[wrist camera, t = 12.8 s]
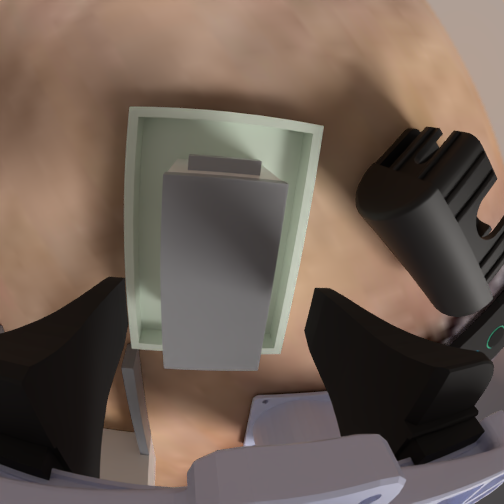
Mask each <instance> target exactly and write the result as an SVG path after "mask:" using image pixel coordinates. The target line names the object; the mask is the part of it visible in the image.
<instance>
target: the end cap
mask: <svg viewBox="0 0 504 504" xmlns="http://www.w3.org/2000/svg"><path fill="white" fill-rule="evenodd" d="M442 134H443V133H442V132H441V130H440V128H433V127H425V128H424V130H423V131H422V132H420V131H419V130H417V129H410V128H409V129H407V130H406V131H405V132H404V133H403V134H402V135H401V136H400V137H399V138H398V139H397V140H396V141H395V143H394V144H393V145H392V146H391V147H390V148H389V149H388V150H387V151H386V152H385V153H384V154H383V156H382V157H381V158H380V159H379V160H378V161H377V162H376V163H373V164H372V166H371V167H370V168H369V169H368V170H367V172H366V173H365V175H364V176H363V178H362V180H361V182H360V184H359V186H358V189H357V192H356V207H357V209H358V211H359V213H360V215H361V216H362V217H363V218H364V219H365V220H366V221H367V223H368V224H369V225H370V226H371V227H372V228H373V230H374V231H375V232H376V233H377V234H378V235H379V237H380V238H381V239H382V240H383V241H384V243H385V244H386V245H387V246H388V247H389V249H390V250H391V251H392V252H393V254H394V255H395V256H396V257H397V258H398V260H399V261H400V262H401V263H402V265H403V266H404V267H405V269H406V270H407V271H408V272H409V274H410V275H411V276H412V277H413V279H414V280H415V281H416V283H417V284H418V285H419V287H420V288H421V289H422V291H423V292H424V293H425V295H426V296H427V297H428V299H429V300H430V301H431V303H432V304H433V305H434V307H435V308H436V309H437V310H439V311H440V312H441V313H443V314H446V315H448V316H454V317H461V316H467V315H471V314H474V313H476V312H478V311H480V310H481V309H483V308H484V307H485V306H487V305H488V304H489V303H490V302H491V301H492V300H493V296H492V294H491V291H490V289H489V286H488V284H489V282H490V281H491V280H492V279H493V277H494V276H495V275H496V274H497V272H498V271H499V270H500V268H501V267H502V266H503V264H504V216H503V217H502V219H501V220H500V222H499V223H498V224H497V226H496V227H495V228H494V230H493V231H492V232H491V230H492V229H491V227H490V226H489V225H487V224H485V223H483V222H481V221H480V220H479V219H478V218H477V212H478V208H479V205H480V203H481V201H482V200H483V198H484V197H485V195H486V194H487V193H488V191H489V190H490V189H491V187H492V186H493V184H494V183H495V182H496V180H497V177H496V175H495V173H494V170H493V168H492V166H491V164H490V161H489V159H488V157H487V155H486V153H485V151H484V149H483V147H482V145H481V143H480V141H479V140H478V139H477V138H476V137H475V136H473V135H472V134H470V133H466V132H460V131H453V132H452V134H451V135H450V136H449V137H448V138H447V140H446V141H445V142H444V143H443V144H442V146H441V147H440V148H439V146H438V145H437V143H436V141H437V140H438V139H439V138H440V136H441V135H442ZM490 232H491V233H490ZM489 233H490V234H489ZM488 234H489V235H488Z"/></svg>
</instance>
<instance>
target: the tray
mask: <svg viewBox="0 0 504 504" xmlns="http://www.w3.org/2000/svg"><path fill="white" fill-rule="evenodd" d="M323 129H324V126H321V125H316V124H311V123H305V122H299V121H293V120H287V119H281V118H274V117H267V116H260V115H252V114H244V113H235V112H225V111H214V110H202V109H188V108H169V107H129V117H128V128H127V141H126V157H125V181H124V253H125V276H126V293H127V306H128V318H129V329H130V338H131V347H132V349H143V350H155V351H163V346H162V324H161V281H160V252H161V209H162V186H163V174H164V173H165V172H168V170H169V169H170V168H171V166H172V165H173V164H174V162H175V161H176V160H177V158H178V159H189V154H198V155H212V156H224V157H236V158H246V159H256V160H260V161H262V164H261V165H263V166H264V167H265V168H266V169H268V170H269V171H270V172H271V173H273V174H274V175H275V176H276V177H278V178H279V179H280V180H281V181H285V182H287V183H288V184H289V186H288V193H287V199H286V206H285V213H284V219H283V225H282V232H281V238H280V244H279V251H278V257H277V263H276V269H275V275H274V281H273V287H272V293H271V299H270V305H269V311H268V316H267V322H266V328H265V333H264V339H263V345H262V350H261V354H280V353H281V349H282V345H283V340H284V336H285V332H286V327H287V323H288V318H289V313H290V309H291V304H292V300H293V295H294V290H295V285H296V281H297V276H298V271H299V266H300V261H301V256H302V251H303V245H304V240H305V235H306V230H307V224H308V219H309V213H310V208H311V202H312V197H313V191H314V185H315V179H316V173H317V167H318V161H319V155H320V148H321V142H322V135H323Z"/></svg>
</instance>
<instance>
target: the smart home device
mask: <svg viewBox="0 0 504 504" xmlns="http://www.w3.org/2000/svg"><path fill="white" fill-rule="evenodd" d="M450 346H451V347H456V348H461V349H467V350H474V351H480V352H482V353H484V354H485V355H486V356H487V357H488V358H489V359H490V360H491V359H492V358H493V357H494V356H495V355H496V354H497V353H498V352H499V351H500V350H501V349H502V348H503V347H504V291H503V292H502V293H501V295H500V296H499V297H498V298H497V299H496V300H495V301H494V302H493V303H492V304H491V305H490V306H489V308H488V309H487V310H486V311H485V312H484V313H483V314H482V315H481V316H480V317H479V318H478V319H477V320H476V321H475V322H474V323H473V324H472V325H471V326H470V327H469V328H468V329H467V330H466V331H465V332H464V333H463V334H462V335H460V336H459V337H458V338H457V339H456V340H455V341H454V342H453V343H452V344H451V345H450Z"/></svg>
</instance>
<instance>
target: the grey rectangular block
mask: <svg viewBox="0 0 504 504" xmlns="http://www.w3.org/2000/svg"><path fill="white" fill-rule="evenodd" d="M261 164H262V161H260V160H256V159H246V158H236V157H224V156H212V155H198V154H189V159H178V158H177V160H176V161H175V162H174V164H173V165H172V166H171V168H170V169H169V170H168V172H165V173H164V174H163V186H162V209H161V252H160V281H161V324H162V346H163V363H164V368H166V369H184V370H213V371H258V367H259V361H260V356H261V350H262V345H263V339H264V333H265V328H266V322H267V316H268V311H269V305H270V299H271V293H272V287H273V281H274V275H275V269H276V263H277V257H278V251H279V244H280V238H281V232H282V225H283V219H284V213H285V206H286V199H287V193H288V186H289V184H288V183H287V182H285V181H281V180H280V179H279V178H278V177H276V176H275V175H274V174H273V173H271V172H270V171H269V170H268V169H266V168H265V167H264V166H263V165H261Z"/></svg>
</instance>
